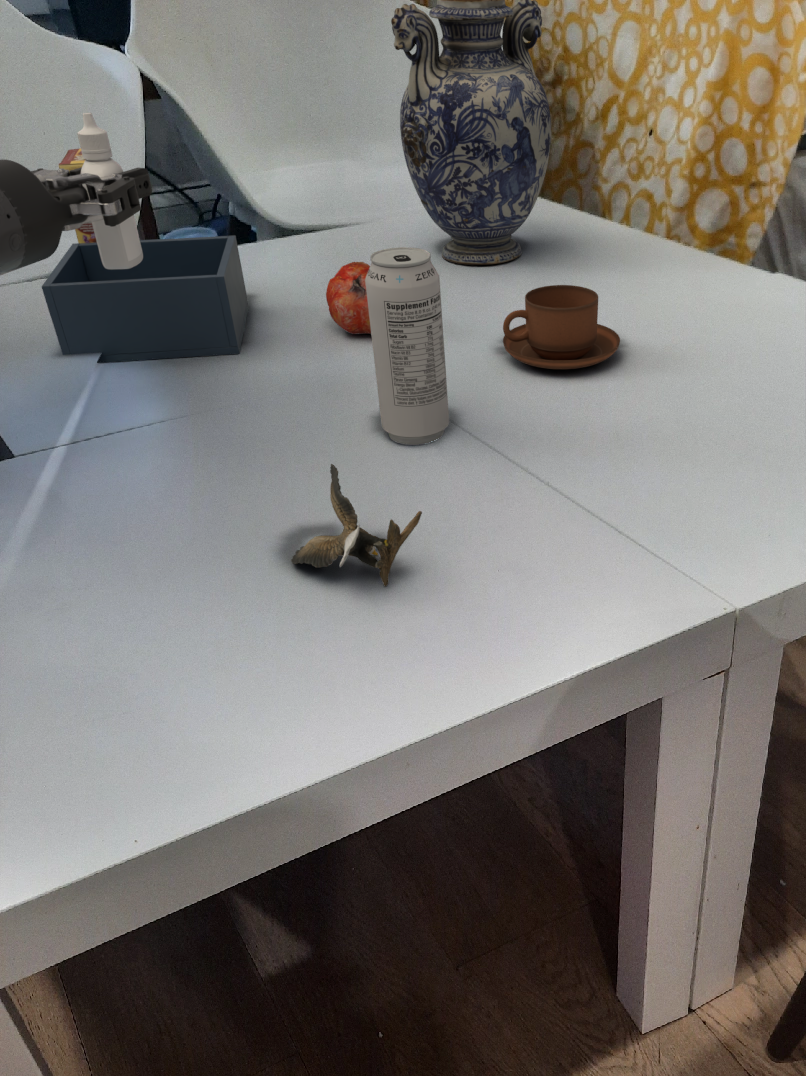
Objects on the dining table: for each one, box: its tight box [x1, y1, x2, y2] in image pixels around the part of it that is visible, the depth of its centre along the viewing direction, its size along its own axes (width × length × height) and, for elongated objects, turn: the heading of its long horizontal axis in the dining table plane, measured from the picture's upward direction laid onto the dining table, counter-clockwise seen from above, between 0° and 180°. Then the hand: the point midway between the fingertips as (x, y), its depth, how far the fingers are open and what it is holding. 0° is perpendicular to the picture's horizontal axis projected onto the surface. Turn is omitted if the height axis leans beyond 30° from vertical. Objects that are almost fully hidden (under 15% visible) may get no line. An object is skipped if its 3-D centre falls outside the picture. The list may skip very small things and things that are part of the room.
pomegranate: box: [325, 261, 371, 335], centre depth 109 cm, size 7×7×10 cm
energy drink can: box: [365, 246, 450, 446], centre depth 86 cm, size 6×6×15 cm
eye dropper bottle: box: [76, 112, 143, 269], centre depth 90 cm, size 4×6×12 cm
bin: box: [41, 234, 250, 364], centre depth 108 cm, size 18×16×8 cm
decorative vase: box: [390, 0, 552, 266], centre depth 124 cm, size 21×19×28 cm
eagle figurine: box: [290, 463, 423, 587], centre depth 71 cm, size 8×7×9 cm
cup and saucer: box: [502, 284, 621, 370], centre depth 102 cm, size 12×12×6 cm
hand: (124, 178), depth 91 cm, fingers closed on eye dropper bottle, 4 cm apart
